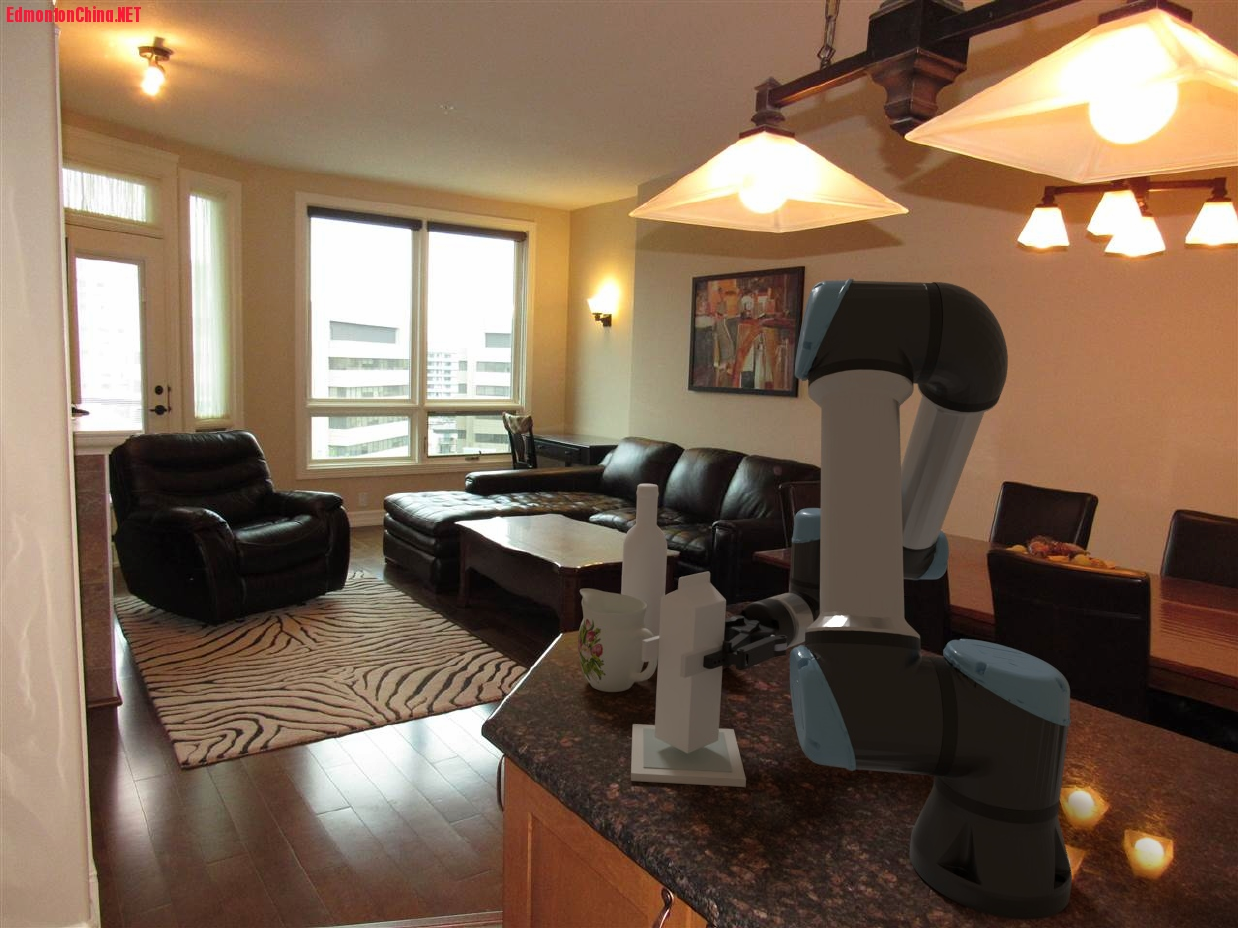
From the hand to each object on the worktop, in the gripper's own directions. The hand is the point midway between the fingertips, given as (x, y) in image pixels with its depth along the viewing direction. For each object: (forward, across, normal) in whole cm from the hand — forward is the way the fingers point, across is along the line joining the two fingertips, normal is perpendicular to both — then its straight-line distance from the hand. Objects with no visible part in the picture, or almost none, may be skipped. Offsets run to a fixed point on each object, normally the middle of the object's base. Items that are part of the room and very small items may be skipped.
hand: (663, 658), depth 102 cm
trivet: (-5, 0, -14) cm, 15 cm away
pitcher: (-14, +23, -15) cm, 31 cm away
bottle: (-29, +32, -15) cm, 46 cm away
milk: (-5, 0, -12) cm, 13 cm away
